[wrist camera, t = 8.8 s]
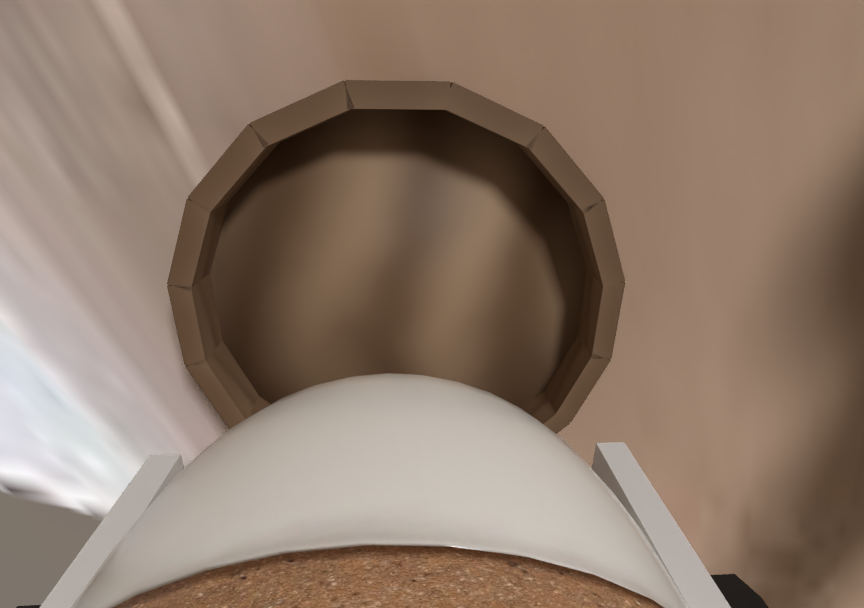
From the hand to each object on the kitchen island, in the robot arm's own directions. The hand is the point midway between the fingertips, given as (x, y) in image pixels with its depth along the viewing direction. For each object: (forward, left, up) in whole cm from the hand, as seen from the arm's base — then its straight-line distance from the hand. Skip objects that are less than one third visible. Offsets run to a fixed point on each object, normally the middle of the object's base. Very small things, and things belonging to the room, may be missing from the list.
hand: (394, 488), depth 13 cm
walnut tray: (0, 0, -13) cm, 13 cm away
